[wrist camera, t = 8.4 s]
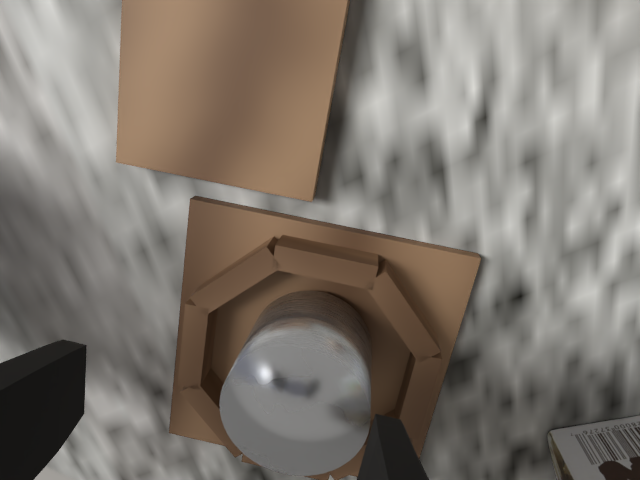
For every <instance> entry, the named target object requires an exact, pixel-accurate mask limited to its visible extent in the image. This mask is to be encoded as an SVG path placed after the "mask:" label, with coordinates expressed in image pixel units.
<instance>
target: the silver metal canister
mask: <svg viewBox="0 0 640 480" xmlns="http://www.w3.org/2000/svg"><path fill="white" fill-rule="evenodd" d="M371 361H372V345H371V338H370V333H369V331H368V328H367V326H366V324H365V322H364V320H363V319H362V318H361V316H360V315H359V314H358V313H357V312H356V311H355V310H354V308H352V307H351V306H350V305H349V304H347V303H346V302H344V301H343V300H341V299H339V298H337V297H335V296H333V295H330V294H327V293H323V292H318V291H298V292H292V293H289V294H286V295H283V296H281V297H279V298H277V299H276V300H274V301H273V302H271V303H270V304H269V305H268V306H267V307H266V308H265V309H264V310H263V311H262V312H261V314H260V315H259V317H258V319H257V321H256V322H255V324H254V326H253V328H252V330H251V332H250V334H249V336H248V338H247V340H246V342H245V343H244V345H243V347H242V349H241V351H240V353H239V355H238V357H237V359H236V361H235V363H234V365H233V366H232V368H231V370H230V372H229V374H228V376H227V378H226V380H225V382H224V384H223V387H222V390H221V394H220V402H219V404H220V415H221V420H222V423H223V425H224V428H225V430H226V432H227V434H228V436H229V437H230V439H231V440H232V442H233V443H234V444H235V445H236V447H237V448H238V449H239V450H240V451H241V452H242V453H243V454H244V455H246V456H247V457H248V458H250V459H251V460H252V461H254V462H256V463H257V464H259V465H261V466H263V467H265V468H267V469H269V470H272V471H275V472H278V473H283V474H287V475H295V476H311V475H318V474H323V473H327V472H329V471H332V470H335V469H337V468H339V467H341V466H343V465H344V464H346V463H347V462H349V461H350V460H351V459H352V458H353V457H354V456H355V455H356V454H357V453H358V452H359V450H360V449H361V448H362V446H363V444H364V443H365V441H366V438H367V436H368V433H369V428H370V419H371Z"/></svg>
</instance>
